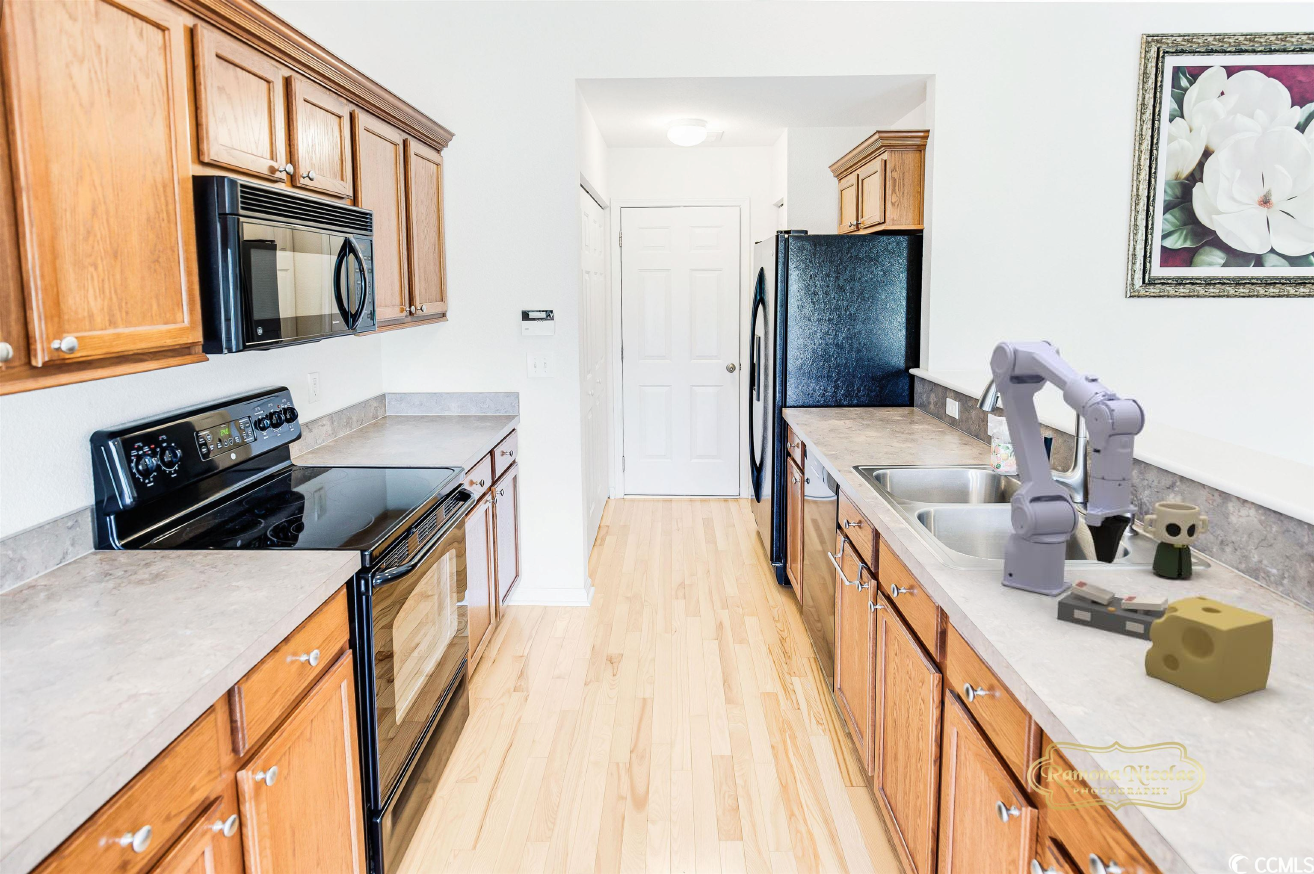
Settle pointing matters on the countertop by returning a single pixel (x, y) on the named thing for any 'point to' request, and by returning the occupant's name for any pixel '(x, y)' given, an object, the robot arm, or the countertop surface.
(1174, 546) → the character mug
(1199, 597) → the cheese
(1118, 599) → the double switch panel
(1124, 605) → the rocker
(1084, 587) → the rocker
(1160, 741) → the countertop surface
